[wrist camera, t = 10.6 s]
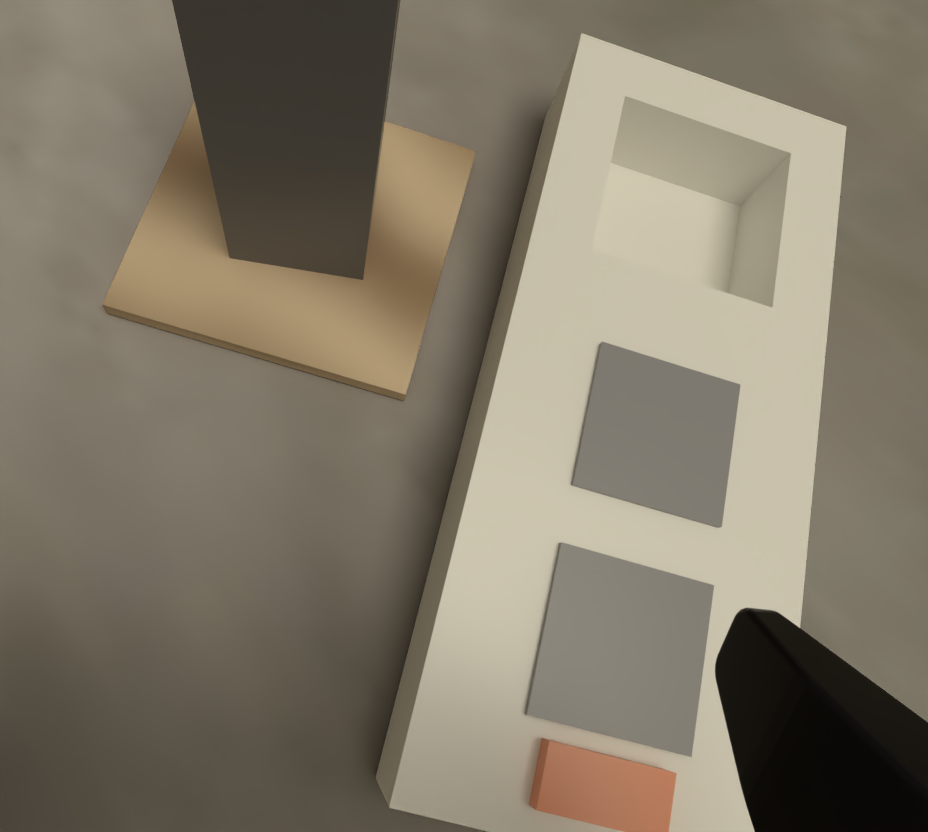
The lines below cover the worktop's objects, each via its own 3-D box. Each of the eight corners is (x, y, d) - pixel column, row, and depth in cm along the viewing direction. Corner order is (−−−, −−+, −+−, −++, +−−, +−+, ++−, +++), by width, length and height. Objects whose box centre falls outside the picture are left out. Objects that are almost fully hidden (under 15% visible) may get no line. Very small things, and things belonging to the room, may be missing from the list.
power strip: (692, 855, 21) (790, 908, 17) (375, 777, 20) (391, 813, 16) (775, 196, 28) (858, 114, 24) (544, 118, 27) (588, 17, 23)
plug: (362, 280, 23) (417, -158, 11) (229, 258, 23) (120, -233, 10) (376, 185, 24) (440, -316, 12) (249, 162, 24) (172, -392, 11)
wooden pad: (403, 400, 23) (405, 394, 23) (107, 313, 22) (102, 304, 22) (472, 162, 26) (475, 151, 26) (213, 76, 25) (211, 63, 25)
